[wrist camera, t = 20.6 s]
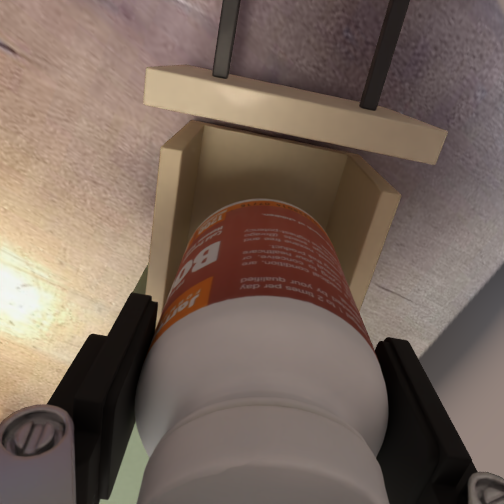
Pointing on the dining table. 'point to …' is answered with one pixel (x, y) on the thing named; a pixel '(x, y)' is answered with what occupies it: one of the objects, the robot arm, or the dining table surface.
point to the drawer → (279, 155)
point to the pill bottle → (261, 371)
